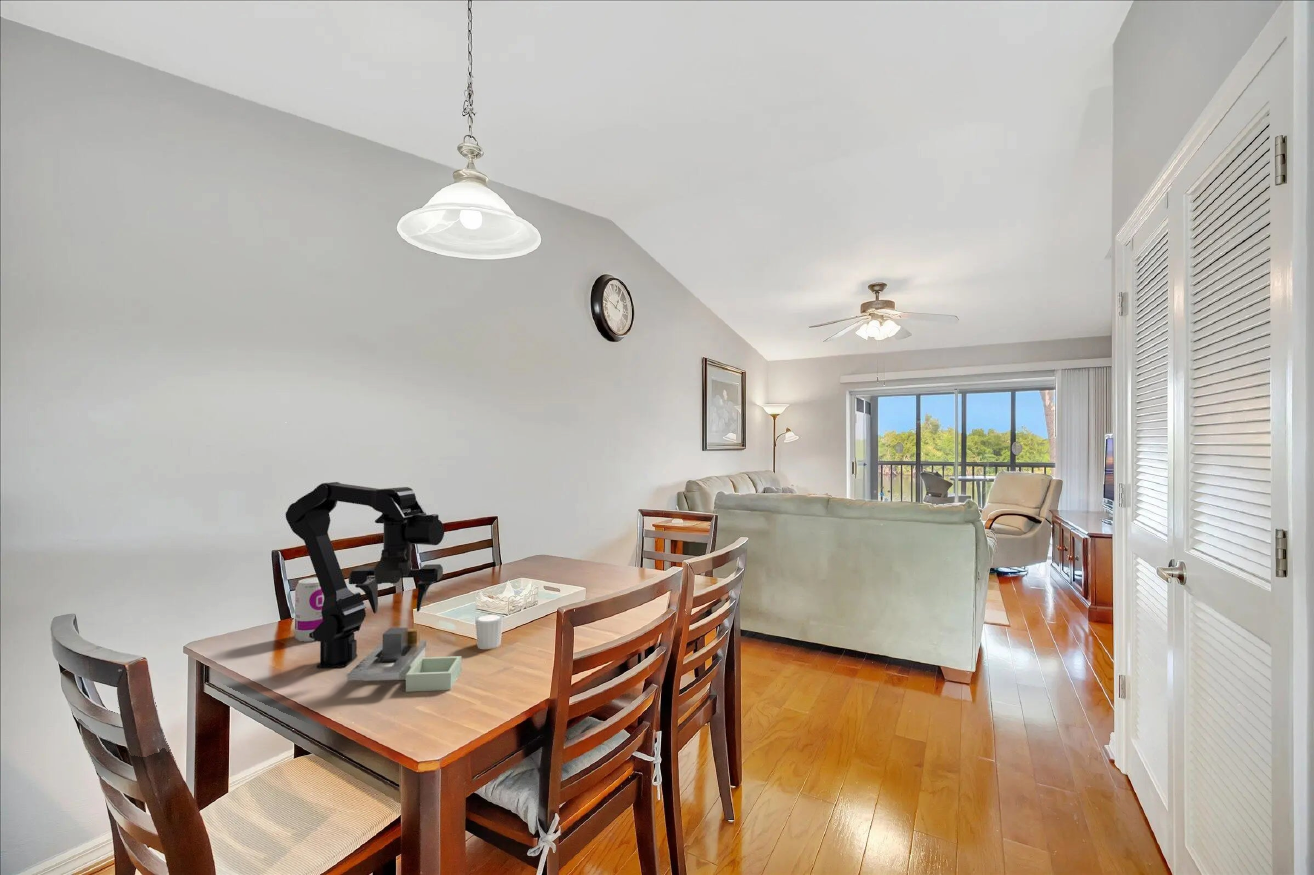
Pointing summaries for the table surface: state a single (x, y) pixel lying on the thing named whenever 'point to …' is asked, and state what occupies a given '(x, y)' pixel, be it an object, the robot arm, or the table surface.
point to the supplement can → (308, 608)
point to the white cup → (489, 630)
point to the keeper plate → (397, 669)
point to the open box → (433, 673)
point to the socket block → (388, 665)
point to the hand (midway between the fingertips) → (396, 611)
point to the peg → (394, 644)
